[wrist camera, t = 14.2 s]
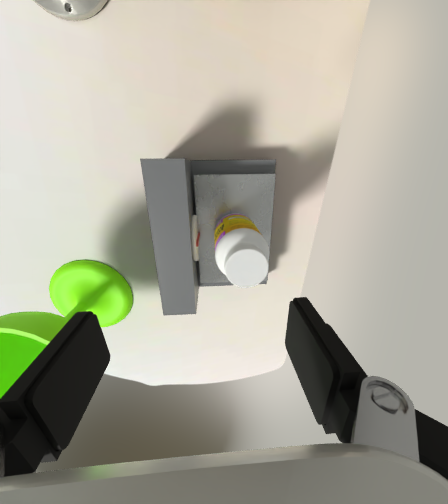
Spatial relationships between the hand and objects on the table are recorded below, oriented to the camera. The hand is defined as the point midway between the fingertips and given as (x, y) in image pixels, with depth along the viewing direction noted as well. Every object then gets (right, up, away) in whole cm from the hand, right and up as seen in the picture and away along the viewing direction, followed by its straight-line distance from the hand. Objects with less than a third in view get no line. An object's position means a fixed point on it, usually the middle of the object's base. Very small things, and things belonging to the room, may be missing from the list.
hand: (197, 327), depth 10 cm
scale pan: (+3, +7, +25) cm, 26 cm away
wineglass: (-26, -5, +33) cm, 42 cm away
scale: (0, +9, +28) cm, 30 cm away
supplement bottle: (+3, +7, +24) cm, 25 cm away
